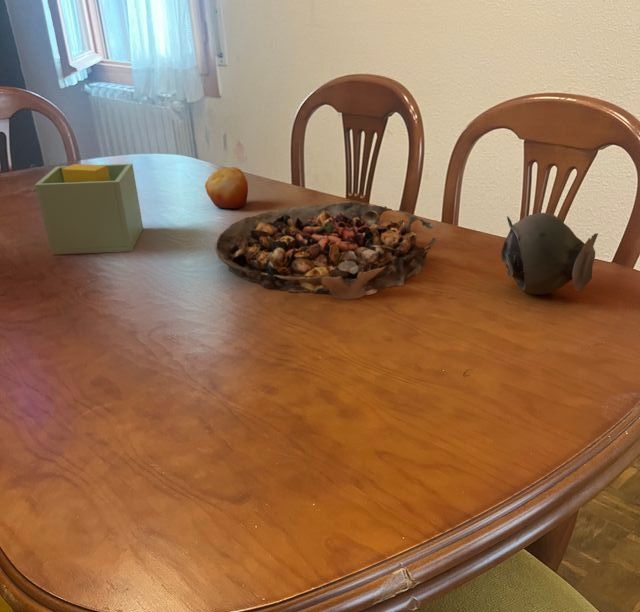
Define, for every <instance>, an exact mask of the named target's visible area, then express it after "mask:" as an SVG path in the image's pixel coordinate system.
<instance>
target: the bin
mask: <svg viewBox="0 0 640 612" xmlns="http://www.w3.org/2000/svg"><path fill="white" fill-rule="evenodd" d="M106 165H107V166H108V171H109V177H110V181H95V182H69V183H65V181H64V177H63V172H62V169H63V168H66V167H68V166H69V165H62V166H61V165H59V166H55V167H54V168H53V169H51V170H50V171H49V172H48V173H47V174H45V176H43V177H42V178H41V179H40V180H39V181H37V182H36V183H35V184H34V188H35V192H36V196H37V201H38V204H39V207H40V212H41V217H42V220H43V224H44V227H45V231H46V236H47V241H48V245H49V249H50V252H51V255H52V256H54V255H55V256H56V255H75V254H76V255H78V254H100V253H101V254H103V253H122V252H123V253H125V252H132V251H133V249H134V248H135V245H136V243H137V241H138V239H139V238H140V235H141V233H142V231H143V230H144V224H143V218H142V212H141V208H140V207H141V206H140V200H139V194H138V190H137V189H138V188H137V183H136V178H135V177H136V175H135V171H134V165H133V163H116V164H115V163H113V164H106Z"/></svg>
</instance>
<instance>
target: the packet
mask: <svg viewBox="0 0 640 612" xmlns="http://www.w3.org/2000/svg"><path fill="white" fill-rule="evenodd" d="M107 165H108V164H85V163H83V164H82V163H73V164H70V165H67V166H68V167H66V168H63V169H62V172H63V177H64V181H65V183H69V182H95V181H110V177H109V171H108V166H107Z"/></svg>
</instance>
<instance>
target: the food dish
mask: <svg viewBox="0 0 640 612" xmlns="http://www.w3.org/2000/svg"><path fill="white" fill-rule="evenodd" d="M388 211H392V208H389V207H387V206H386V205H385V206H382V205H376V204H372V203H371V204H368V203H365V204H361V203H360V202H357V201H353V200H351V201H340V202H333V203H324V204H323V203H322V204H310V205H304V206H303V205H300V206H295V207H286V208H281V209H278V210H275V211H267V212H261V213H259V214H256V215H253V216H247V217H245V218H242V219H240V220H237V221H235V222H233V223H232V224H231V225H229V227H228V228H226V229H224V231H222V232H221V233H220V234H219V235H218V236H217V238H216V242H215V243H214V249H215V252H216V254H217V257H218V258H219V260H220V261H221V262H222V263H224V264H225V265H226V266H227V268H228V271H229V272H231V273H232V274H234V275H236V276H238V277H240V278H244V279H246V280H247V281H248V282H251V283H257V284H260V285H262V286H263V287H264V288H266V289H269V290H277V291H282V292H283V291H284V292H288V293H292V294H293V293H294V294H299V293H311V294H315V295H316V294H317V295H332V296H333V298H334V299H335V298H336V299H340V300H357V299H360V298H362V297H364V296H370V295H374V294H376V293H377V292H378V291H380V290H382V289H386V288H390V287H394V286H399V287H400V286H403V285H405V280H407V279H409V278H410V277H411V276H416V275H418V274H420V273H421V272H423V271H422V268H423V266H424V265H426V257H427V255H428V253H429V250H430V249H431V247H432V246H433V245H434V243H436V239H437V237H432V238H431V241H430V242H429V243H427V244H426V246H425V247H424V246H418V244H417V245H416V242H417V239H418V237H417V234H416V233H415V232H413V231H412V230H411V227H412V224H413V223H415V222H416V221H420V222H421V225H422V226H424V227H425V228H426V229H430V230H431V229H434V227H435V226H434V224H433V223H431V222H430V221H428V220H425V219H423V218H421V219H420V218H418V217H417V215H415V214H413V213H410V212H407V211H403V210H395V212H397V213H400V214H403V215H406V216H407V217H408V224H407V225H408V226H407V227H406V223H405V220H404V219H399V221H398V222H393V220H391V221H390V220H388V219H385V220H382V221H380V219H381V216H382V215H383V213H384V212H388Z"/></svg>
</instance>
